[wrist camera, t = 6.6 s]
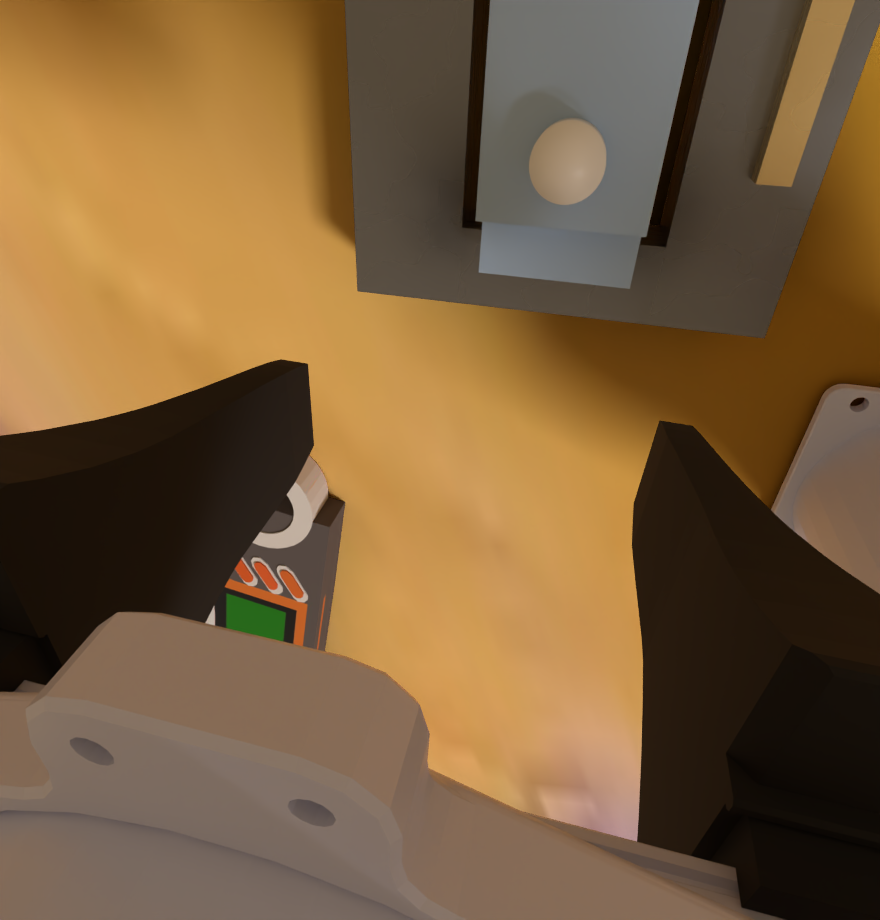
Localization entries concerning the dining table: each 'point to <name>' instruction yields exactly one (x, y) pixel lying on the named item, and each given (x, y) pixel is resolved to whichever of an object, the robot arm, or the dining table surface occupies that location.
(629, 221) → the block
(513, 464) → the dining table surface
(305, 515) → the electronic device
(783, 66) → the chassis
